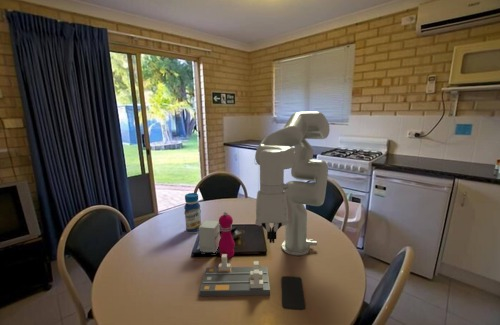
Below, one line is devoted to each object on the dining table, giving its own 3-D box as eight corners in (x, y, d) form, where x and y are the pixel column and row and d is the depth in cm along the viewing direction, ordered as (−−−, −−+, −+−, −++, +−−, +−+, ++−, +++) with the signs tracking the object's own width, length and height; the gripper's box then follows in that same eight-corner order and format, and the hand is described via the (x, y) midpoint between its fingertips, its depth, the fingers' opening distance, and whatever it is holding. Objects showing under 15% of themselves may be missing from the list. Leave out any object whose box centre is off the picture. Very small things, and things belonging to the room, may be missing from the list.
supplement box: (215, 254, 106) (214, 228, 104) (199, 253, 108) (198, 227, 105) (220, 246, 113) (219, 221, 111) (206, 244, 115) (204, 219, 112)
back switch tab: (230, 267, 93) (230, 254, 92) (230, 270, 91) (229, 257, 90) (219, 267, 93) (218, 254, 92) (218, 270, 91) (218, 257, 90)
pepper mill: (222, 260, 102) (220, 216, 98) (216, 252, 108) (214, 210, 104) (238, 256, 105) (236, 213, 101) (231, 248, 111) (229, 207, 107)
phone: (282, 307, 76) (281, 275, 91) (282, 309, 76) (281, 277, 91) (305, 309, 75) (301, 276, 90) (305, 311, 76) (301, 278, 90)
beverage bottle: (203, 226, 133) (201, 192, 129) (199, 234, 124) (196, 197, 120) (189, 226, 134) (186, 192, 130) (183, 233, 125) (180, 197, 121)
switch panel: (267, 271, 94) (267, 266, 94) (270, 294, 82) (270, 289, 82) (206, 272, 94) (206, 267, 94) (199, 296, 82) (199, 290, 82)
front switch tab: (262, 283, 84) (262, 269, 83) (263, 288, 82) (263, 273, 81) (250, 284, 84) (250, 269, 83) (250, 288, 82) (250, 273, 81)
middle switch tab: (262, 274, 89) (262, 261, 88) (262, 278, 87) (262, 264, 86) (250, 275, 89) (250, 261, 88) (250, 278, 87) (250, 264, 86)
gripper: (293, 184, 80) (292, 235, 84) (248, 184, 80) (249, 235, 84) (297, 191, 73) (296, 246, 76) (247, 192, 73) (248, 247, 77)
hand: (271, 240), depth 80 cm, fingers closed
